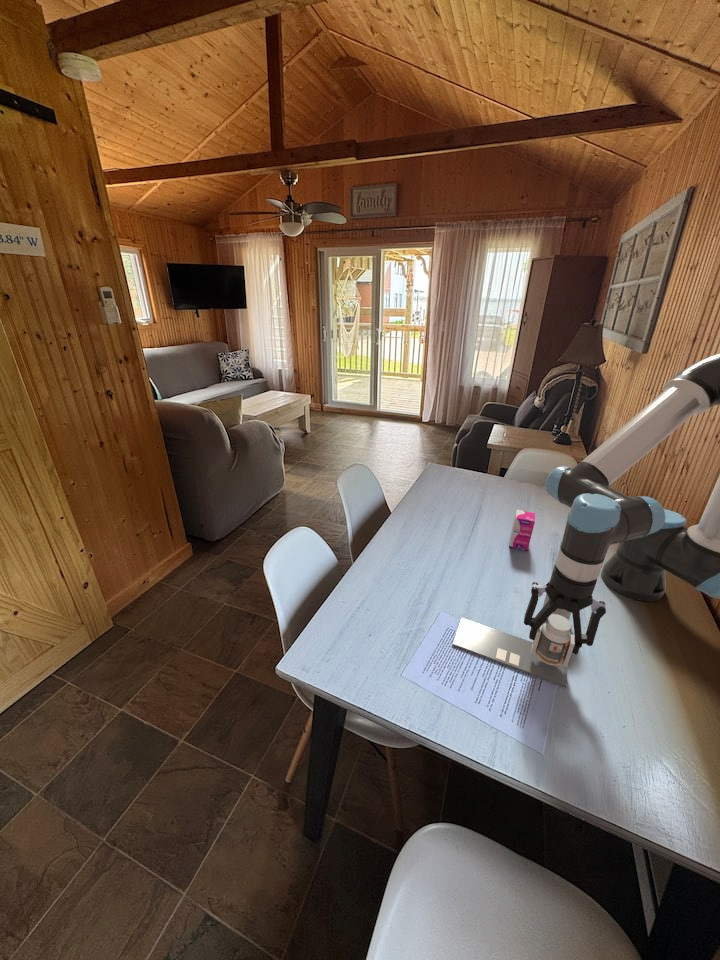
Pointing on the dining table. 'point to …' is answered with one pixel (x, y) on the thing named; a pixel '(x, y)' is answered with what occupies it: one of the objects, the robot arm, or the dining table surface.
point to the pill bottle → (554, 640)
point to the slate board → (507, 651)
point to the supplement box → (522, 530)
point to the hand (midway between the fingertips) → (549, 655)
